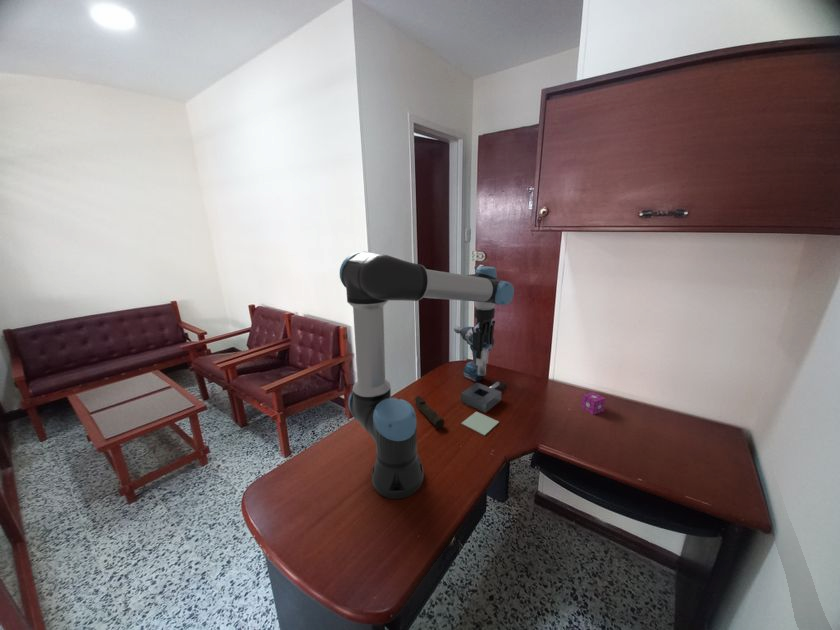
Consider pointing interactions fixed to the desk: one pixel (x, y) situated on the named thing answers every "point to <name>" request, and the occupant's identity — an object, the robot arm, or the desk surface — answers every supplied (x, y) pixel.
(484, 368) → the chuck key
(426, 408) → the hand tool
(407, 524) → the desk surface
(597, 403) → the puzzle toy
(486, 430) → the mat
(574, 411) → the desk surface
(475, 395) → the block
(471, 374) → the impact wrench
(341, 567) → the desk surface
